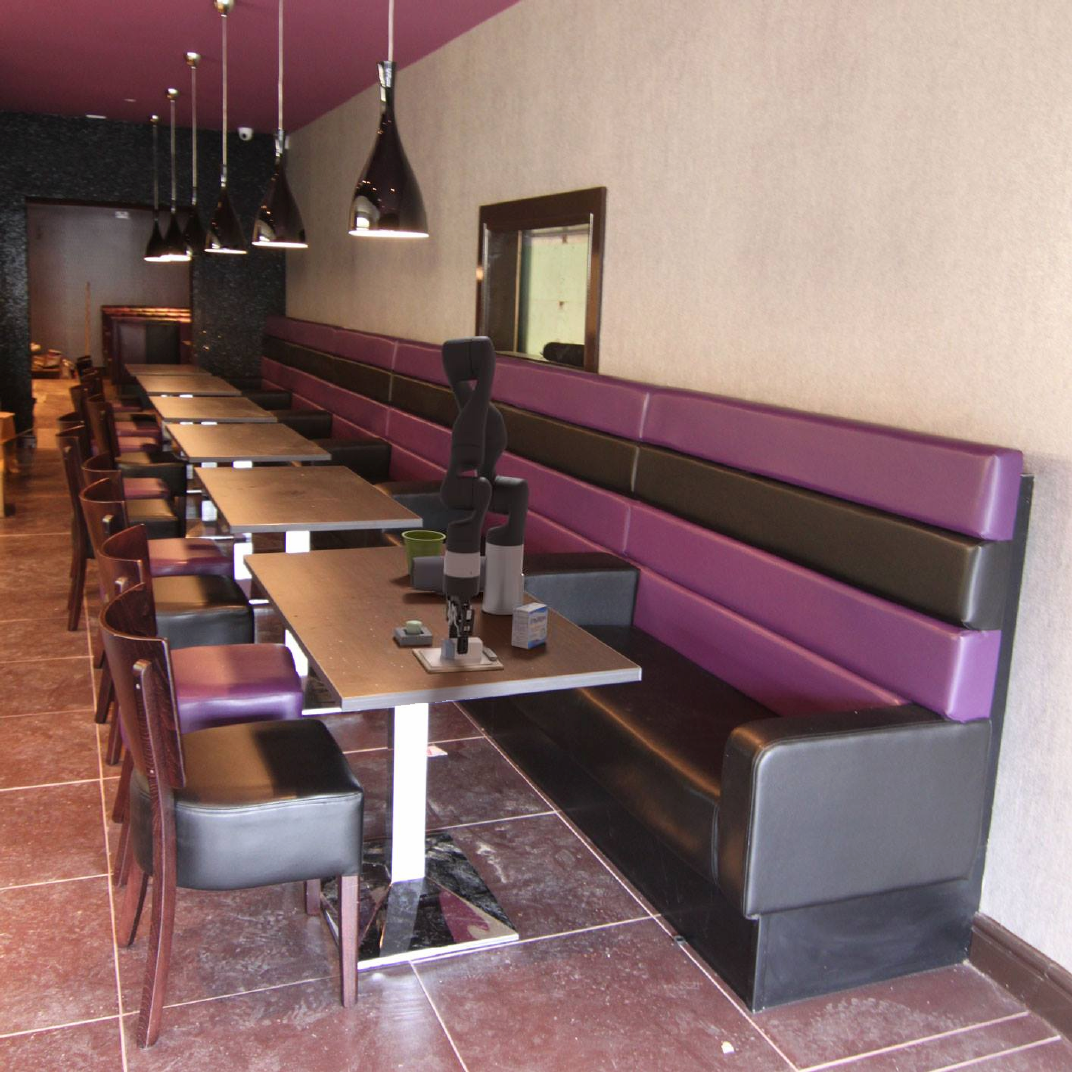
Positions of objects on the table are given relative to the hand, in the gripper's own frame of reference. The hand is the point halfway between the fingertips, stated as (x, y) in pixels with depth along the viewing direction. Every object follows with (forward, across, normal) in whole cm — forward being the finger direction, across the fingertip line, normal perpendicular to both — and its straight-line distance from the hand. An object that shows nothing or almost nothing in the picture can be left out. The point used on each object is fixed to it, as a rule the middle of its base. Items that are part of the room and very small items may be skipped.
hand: (457, 648), depth 235 cm
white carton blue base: (+2, 0, -1) cm, 2 cm away
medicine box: (+3, +9, -19) cm, 21 cm away
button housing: (+3, +15, +6) cm, 16 cm away
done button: (+1, +15, +6) cm, 16 cm away
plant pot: (+3, +73, -10) cm, 74 cm away
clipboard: (+3, 0, 0) cm, 3 cm away
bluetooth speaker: (+3, +53, -14) cm, 55 cm away
